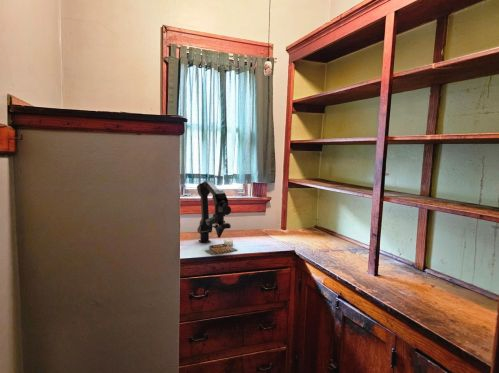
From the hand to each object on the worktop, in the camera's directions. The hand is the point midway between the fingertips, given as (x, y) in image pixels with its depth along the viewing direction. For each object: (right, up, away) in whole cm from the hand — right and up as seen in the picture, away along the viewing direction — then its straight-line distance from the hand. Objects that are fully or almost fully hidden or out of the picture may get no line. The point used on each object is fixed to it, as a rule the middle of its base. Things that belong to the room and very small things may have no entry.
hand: (218, 237), depth 196 cm
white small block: (+5, -7, +12) cm, 15 cm away
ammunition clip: (-2, -6, +3) cm, 7 cm away
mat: (+2, -8, -2) cm, 8 cm away
